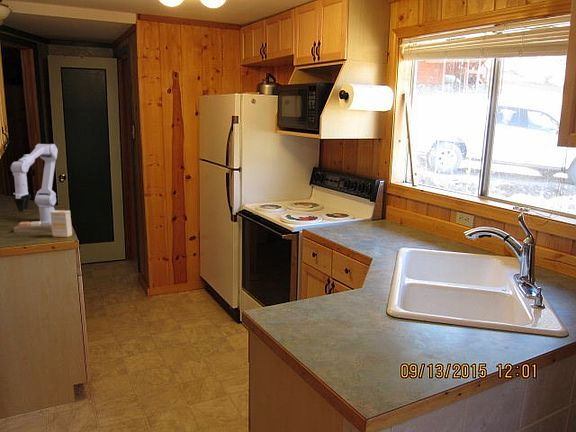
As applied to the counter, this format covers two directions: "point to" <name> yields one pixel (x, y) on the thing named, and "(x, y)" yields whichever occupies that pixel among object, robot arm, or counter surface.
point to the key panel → (33, 228)
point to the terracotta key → (24, 224)
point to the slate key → (46, 223)
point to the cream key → (35, 223)
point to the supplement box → (61, 223)
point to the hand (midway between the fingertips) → (23, 210)
